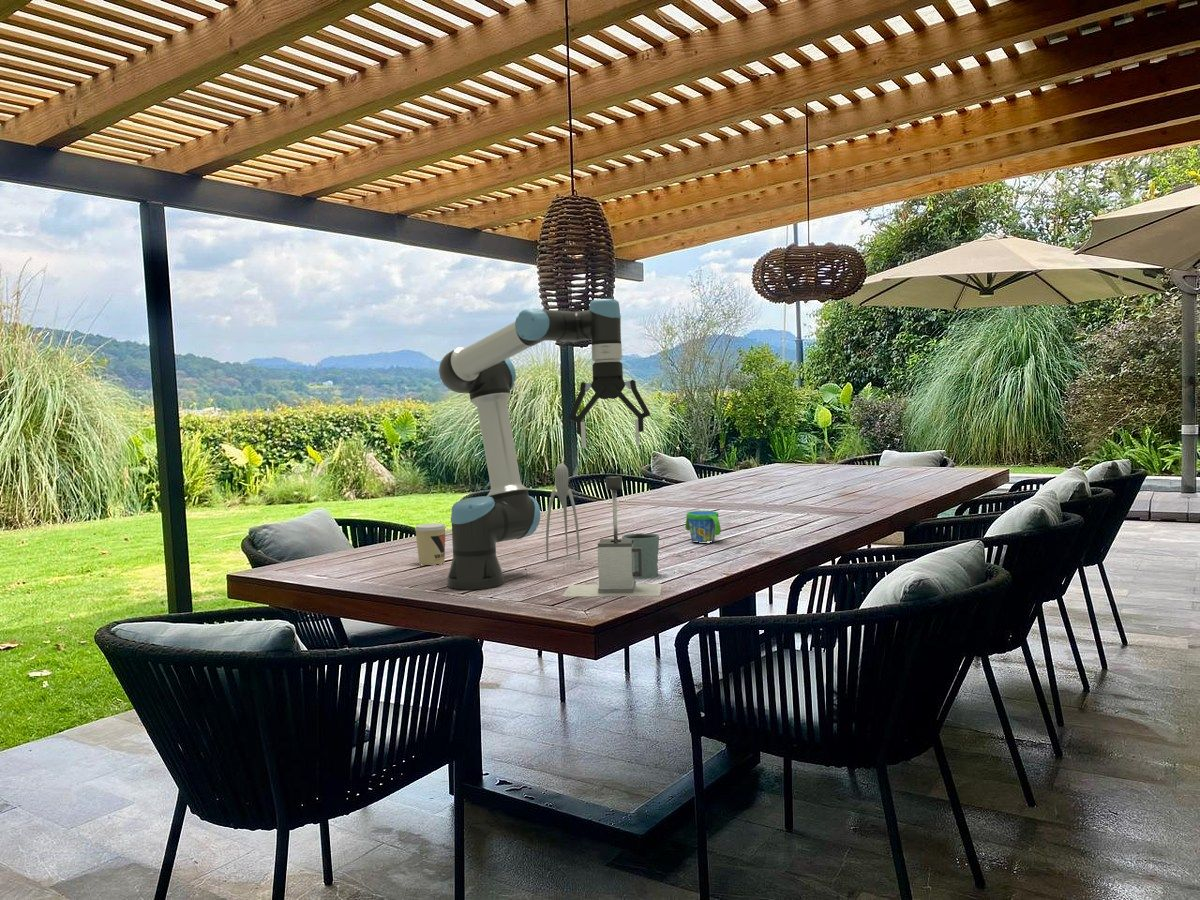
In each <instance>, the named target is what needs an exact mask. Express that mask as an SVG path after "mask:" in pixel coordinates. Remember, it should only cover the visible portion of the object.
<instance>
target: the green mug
mask: <svg viewBox="0 0 1200 900" xmlns="http://www.w3.org/2000/svg"><path fill="white" fill-rule="evenodd" d="M621 539H634V547H642V576H635V579H650V578H654V577H657V576H658V574H659V568H658V567H659V566H658V563H659V559H658V558H659V549H660V548H659V547H660V546H659V543H660V535H659V534H657V533H630V534H629V533H628V534H625V535H622V536H621ZM634 567H635V572H639V565H638V552H634Z"/></svg>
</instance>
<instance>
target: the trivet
mask: <svg viewBox="0 0 1200 900" xmlns="http://www.w3.org/2000/svg"><path fill="white" fill-rule="evenodd" d="M662 586H663V584H662V583H636V587H635V590H634V593H598V589H599V583H598V584H596V583H595V584H569V585H568V587H567V588H566V590H565V591H564V592H563V594H562V597H567V598H568V597H569V598H570V597H571V598H572V597H655V596H656V597H658V596H659V597H661V591H662Z"/></svg>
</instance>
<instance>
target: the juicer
mask: <svg viewBox="0 0 1200 900" xmlns="http://www.w3.org/2000/svg"><path fill="white" fill-rule="evenodd" d="M568 469H569V468H568V467H567V466H566V464H564V463H563V462H561V463H559V464H558V465H557V466H556V467H555V470H554V479H555V482H554V483H555V487H556V488H555V489H556V490H555V489H552V490H551V494H550V498H549V503H548V508H547V517H546V529H545V531H546V533H545V549H546V551H545V552H546V553H545V554H546V556H545V557H546V562H549V533H550V520H551V513H552V506H553V504H554V503H553V502H554V499H555V496H557V497H558V500H559V503H560V505H561V507H562V509H563V519H564V520H563V521H564V533H565V534H564V535H565V549H566V551H565V552H566V556H567V555H568V553H569V552H568V548H569V547H568V509H567V508H568V506H567V496H568V497H569V500H570V504H571V507H572V513H573V516H574V517H573V518H574V525H575V533H576V542H577V554H578V556H577V557H578V559H577V560H578V561H579V560H580V561H581V551H580V550H581V549H580V547H581V546H580V531H579V522H578V515H577V508H576V504H575V499H574V496H573V492H572V489H571V488H569V470H568ZM568 556H569V555H568Z"/></svg>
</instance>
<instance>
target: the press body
mask: <svg viewBox="0 0 1200 900" xmlns="http://www.w3.org/2000/svg"><path fill="white" fill-rule="evenodd" d="M634 552H638V565H639V572H635V567H634ZM597 566H598V567H597V570H598V573H597V575H598V584H599V589H598V593H634V590H635V587H636V584H637V582H636V578H635V576H642V547H634V539H622V538H618V542H614V538H601V539H599V541H598V543H597Z"/></svg>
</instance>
